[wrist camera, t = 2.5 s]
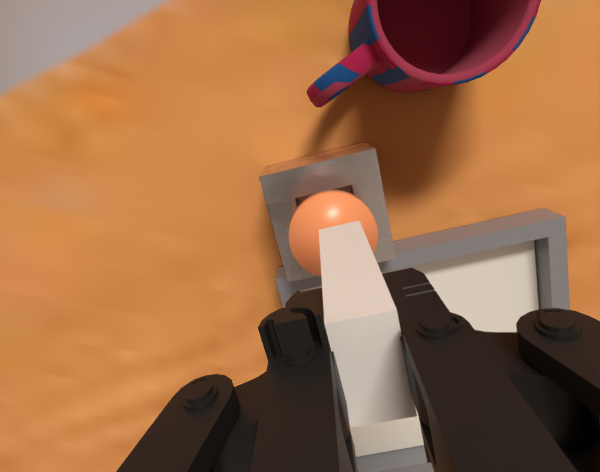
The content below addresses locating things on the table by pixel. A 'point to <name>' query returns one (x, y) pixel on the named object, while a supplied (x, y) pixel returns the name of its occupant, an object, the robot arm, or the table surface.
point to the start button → (326, 224)
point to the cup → (426, 43)
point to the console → (319, 177)
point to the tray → (466, 301)
